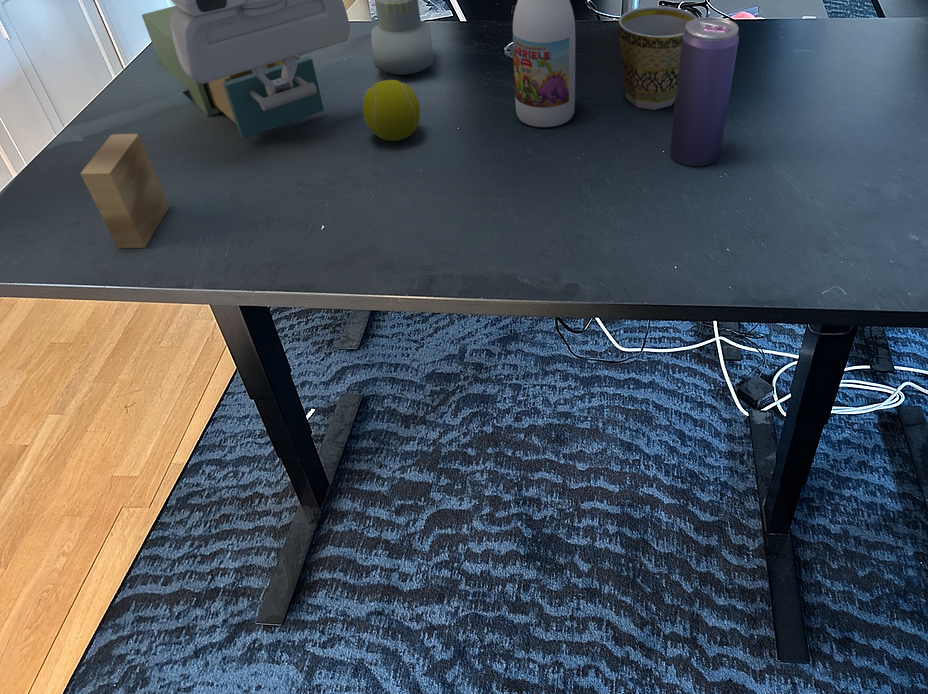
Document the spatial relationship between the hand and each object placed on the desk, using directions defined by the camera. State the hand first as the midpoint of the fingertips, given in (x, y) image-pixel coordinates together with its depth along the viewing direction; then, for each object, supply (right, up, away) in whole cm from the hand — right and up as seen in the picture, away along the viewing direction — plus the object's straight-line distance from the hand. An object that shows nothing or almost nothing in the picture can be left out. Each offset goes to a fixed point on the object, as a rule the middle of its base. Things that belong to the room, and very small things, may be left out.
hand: (281, 96), depth 95 cm
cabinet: (-13, +8, +16) cm, 22 cm away
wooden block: (-12, -18, -9) cm, 24 cm away
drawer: (-5, +1, +8) cm, 9 cm away
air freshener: (+12, +11, +18) cm, 25 cm away
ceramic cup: (+47, +4, +10) cm, 49 cm away
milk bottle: (+32, 0, +7) cm, 33 cm away
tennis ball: (+13, -4, +4) cm, 15 cm away
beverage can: (+50, -8, -2) cm, 51 cm away
